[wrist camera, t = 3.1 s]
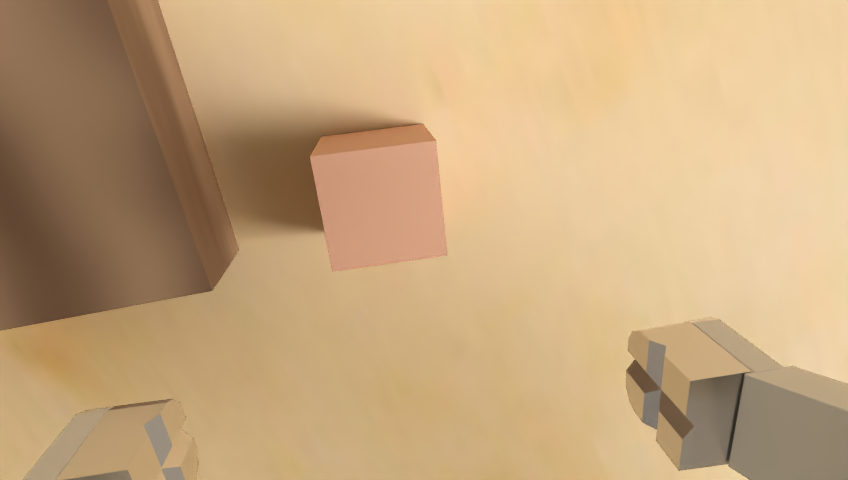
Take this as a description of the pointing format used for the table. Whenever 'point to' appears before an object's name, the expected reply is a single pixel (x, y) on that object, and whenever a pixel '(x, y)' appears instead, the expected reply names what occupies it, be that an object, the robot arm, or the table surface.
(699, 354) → the robot arm
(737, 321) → the table surface
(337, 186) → the terracotta cube
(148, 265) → the walnut block
